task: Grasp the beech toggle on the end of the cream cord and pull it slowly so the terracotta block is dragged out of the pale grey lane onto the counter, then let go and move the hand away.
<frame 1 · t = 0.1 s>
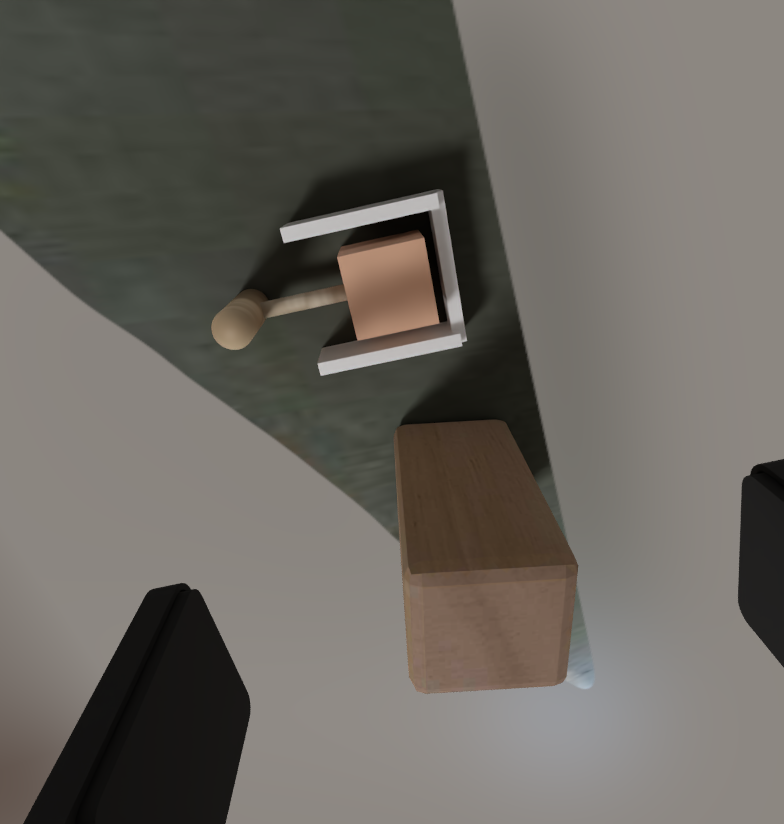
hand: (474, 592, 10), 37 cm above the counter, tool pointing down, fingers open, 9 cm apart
lane: (387, 276, 43), on the counter
wooden block: (449, 466, 51), on the counter
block: (387, 276, 44), on the counter
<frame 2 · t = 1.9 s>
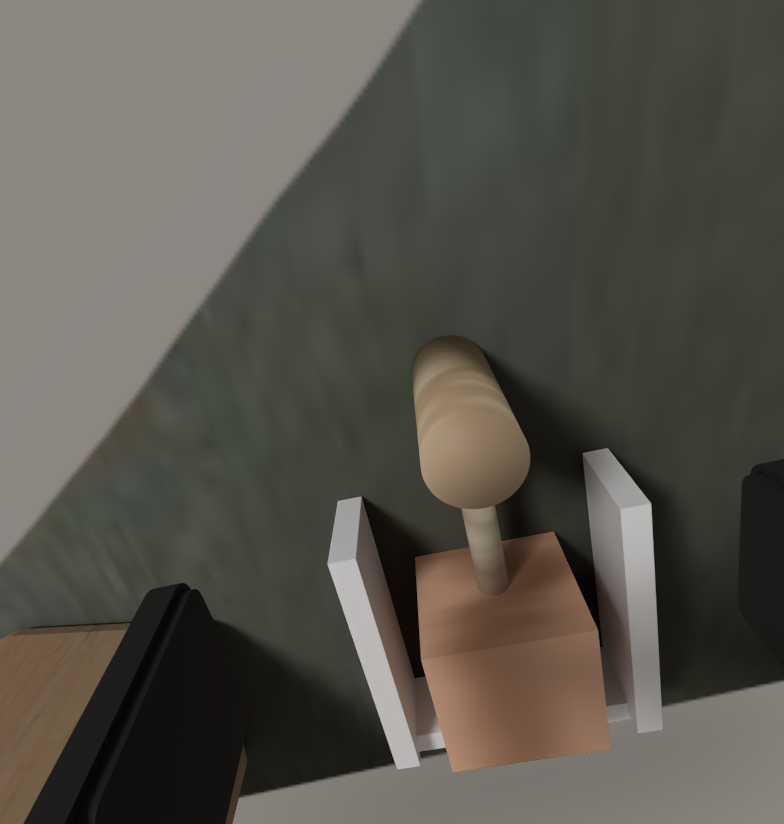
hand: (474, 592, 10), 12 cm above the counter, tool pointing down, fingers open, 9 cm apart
lane: (494, 598, 25), on the counter
wooden block: (139, 689, 27), on the counter
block: (494, 597, 25), on the counter
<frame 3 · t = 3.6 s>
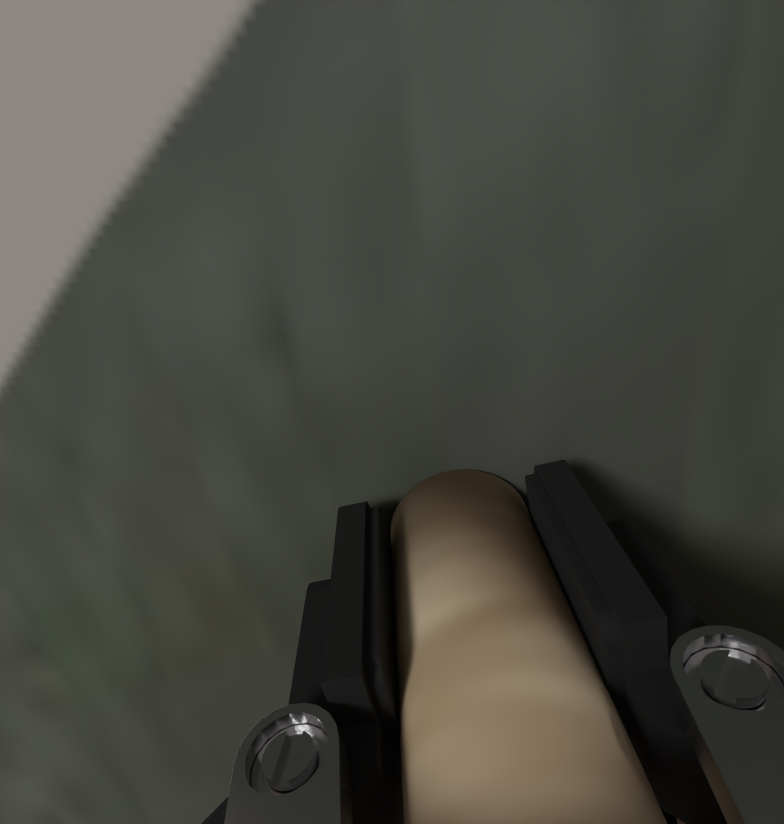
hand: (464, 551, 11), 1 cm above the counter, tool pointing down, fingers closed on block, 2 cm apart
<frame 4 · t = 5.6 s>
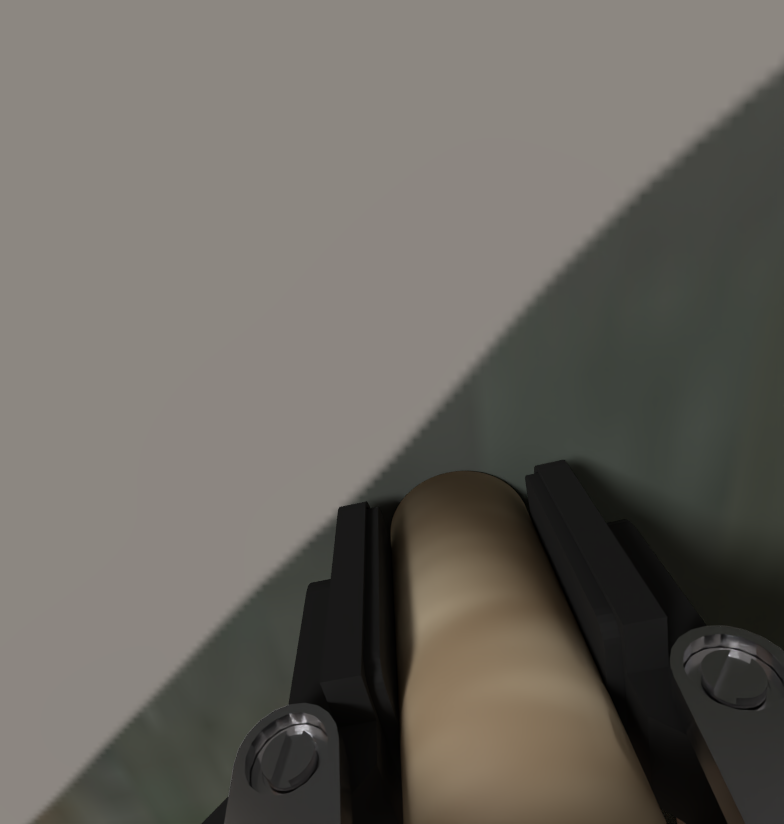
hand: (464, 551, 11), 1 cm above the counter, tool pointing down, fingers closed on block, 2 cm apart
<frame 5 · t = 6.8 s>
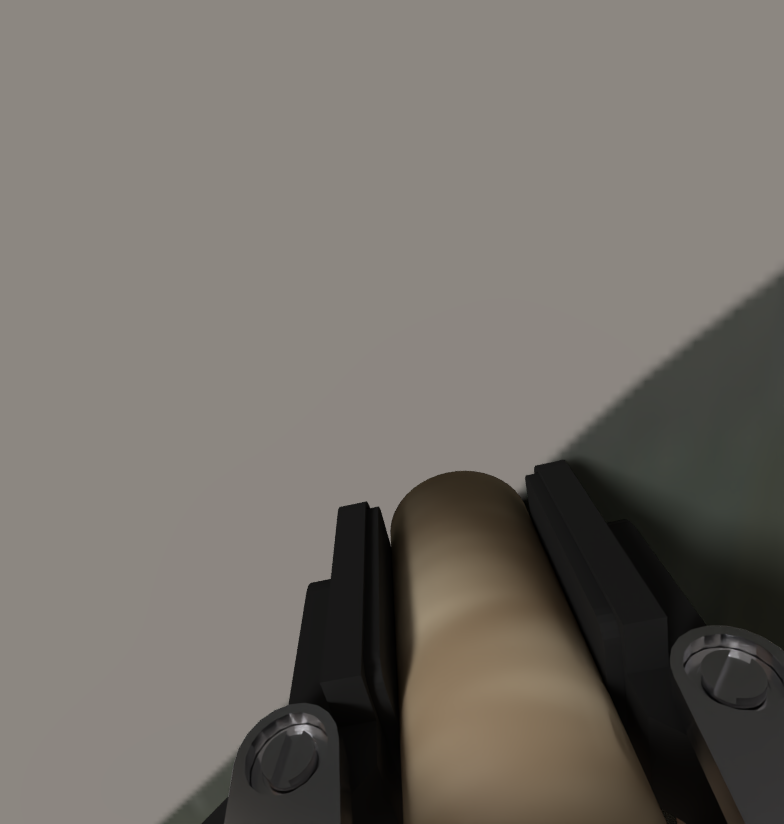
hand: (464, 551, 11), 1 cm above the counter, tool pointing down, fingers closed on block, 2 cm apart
when the fingers open (1 cm above the counter, at t = 7.5 s): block stays where it is, on the counter.
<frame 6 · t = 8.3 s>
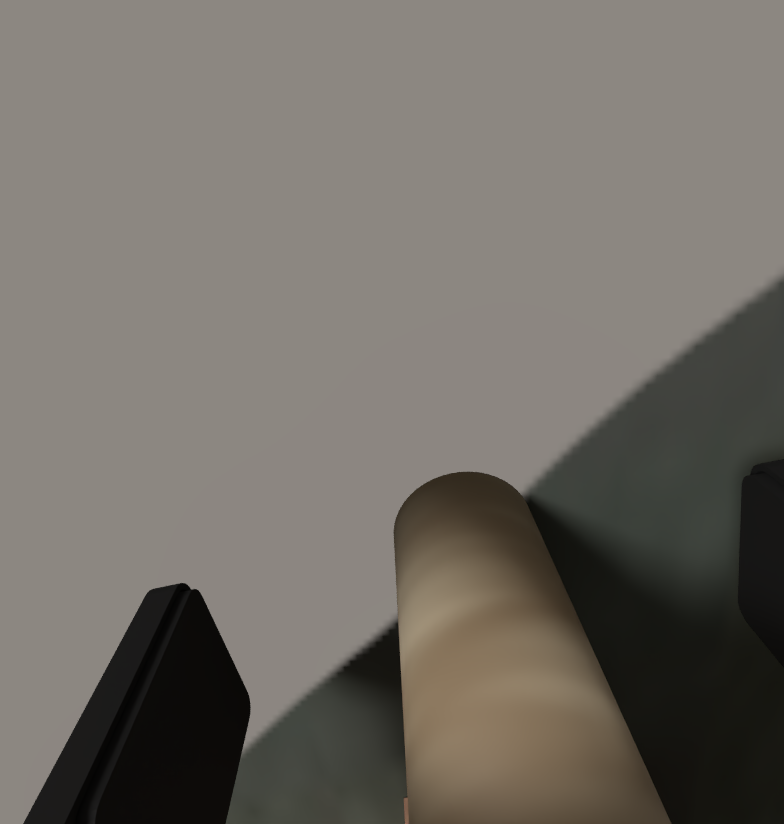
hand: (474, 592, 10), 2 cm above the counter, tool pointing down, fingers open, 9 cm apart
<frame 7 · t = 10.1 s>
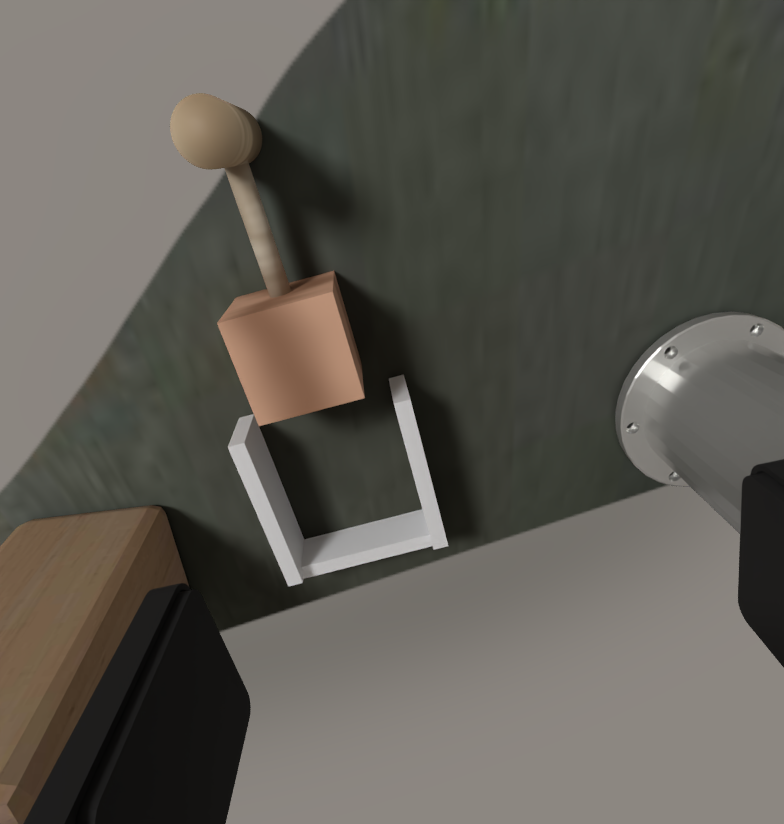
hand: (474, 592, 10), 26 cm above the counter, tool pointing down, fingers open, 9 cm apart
lane: (348, 478, 38), on the counter
wooden block: (116, 561, 40), on the counter
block: (301, 331, 34), on the counter
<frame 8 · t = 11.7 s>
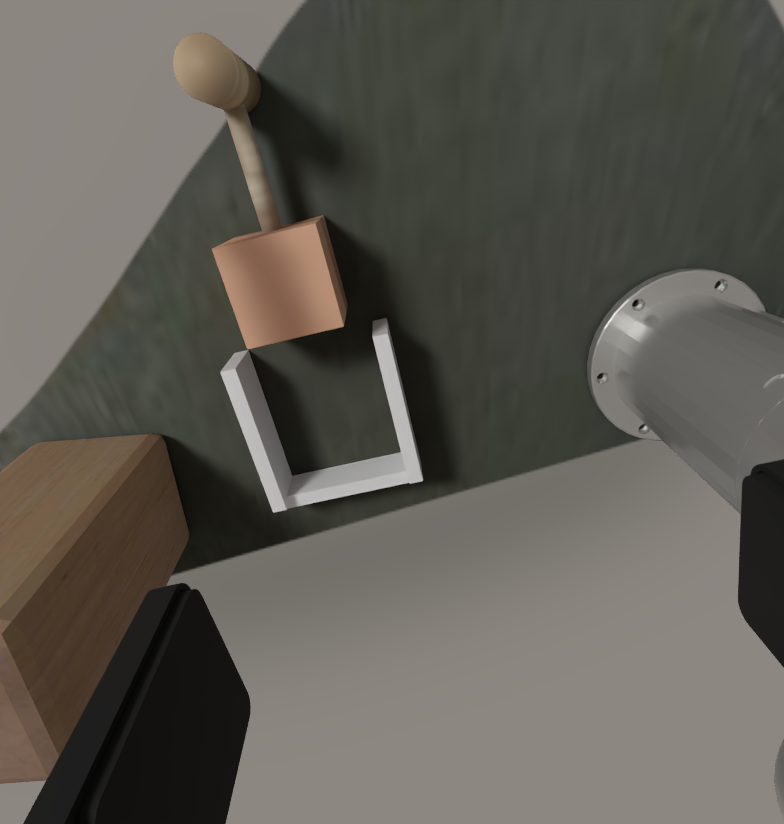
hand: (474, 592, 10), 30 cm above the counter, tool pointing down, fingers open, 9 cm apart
lane: (334, 417, 41), on the counter
wooden block: (119, 488, 43), on the counter
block: (292, 272, 37), on the counter
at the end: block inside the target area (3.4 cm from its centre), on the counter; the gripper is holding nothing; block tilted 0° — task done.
